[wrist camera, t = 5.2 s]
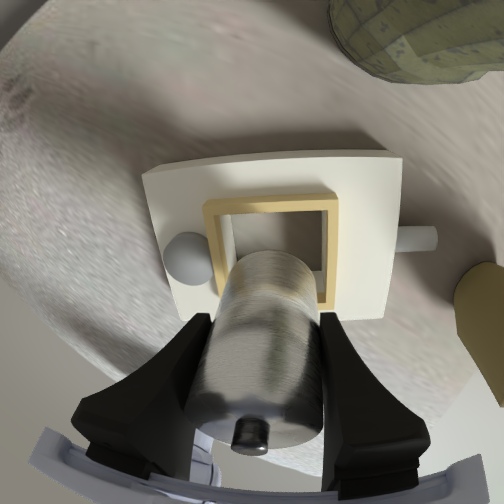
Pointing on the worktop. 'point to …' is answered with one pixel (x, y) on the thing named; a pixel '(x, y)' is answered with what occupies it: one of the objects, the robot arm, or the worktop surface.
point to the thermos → (421, 38)
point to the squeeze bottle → (483, 321)
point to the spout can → (262, 358)
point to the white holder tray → (282, 200)
